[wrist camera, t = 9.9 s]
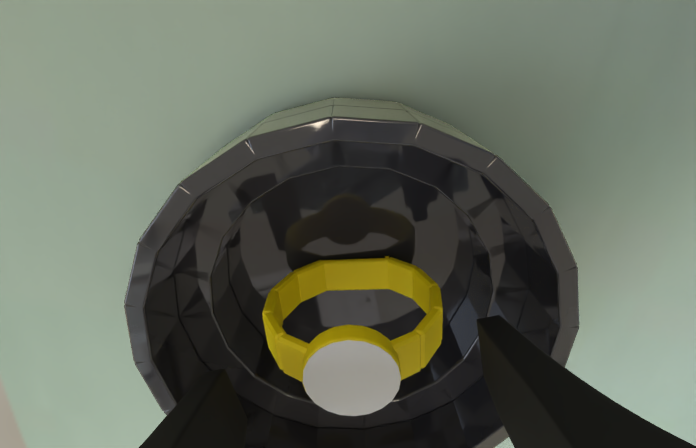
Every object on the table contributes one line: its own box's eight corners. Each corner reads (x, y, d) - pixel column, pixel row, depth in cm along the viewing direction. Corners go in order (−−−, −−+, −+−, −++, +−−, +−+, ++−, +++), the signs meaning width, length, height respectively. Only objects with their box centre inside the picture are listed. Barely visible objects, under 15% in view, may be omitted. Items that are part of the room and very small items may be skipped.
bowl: (551, 111, 15) (648, 138, 10) (477, 393, 20) (519, 496, 15) (170, 83, 14) (86, 98, 9) (198, 382, 19) (154, 485, 15)
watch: (425, 235, 16) (469, 331, 10) (425, 294, 17) (465, 410, 12) (274, 246, 16) (239, 348, 10) (283, 305, 17) (256, 424, 12)
